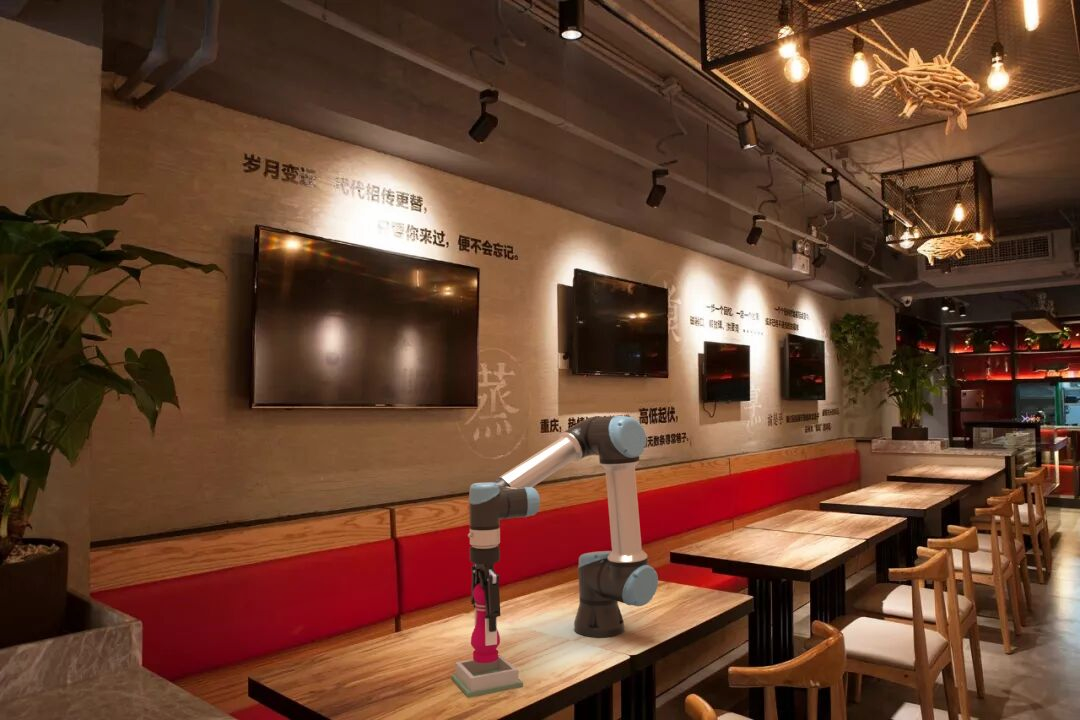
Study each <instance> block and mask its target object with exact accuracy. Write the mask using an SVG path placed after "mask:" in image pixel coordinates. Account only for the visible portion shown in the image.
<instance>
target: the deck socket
mask: <svg viewBox="0 0 1080 720" xmlns="http://www.w3.org/2000/svg"><path fill="white" fill-rule="evenodd" d="M450 675H451V677H450V678H451V680H452V681H453V682H454V683H455V685H456V686H457V688H459V689H460V690H461V691H462V693H463V694H464V695H465V696H466V697H467V698H473V697H478V696H483V695H487V694H493V693H497V692H502V691H503V692H504V691H509V690H514V689H517V688H518V689H519V688H523V687H524V682H523V681H522V680H521V679H519V669H518V668H517V667H516V666H515V665H514V664H512V663H511V662H509V661H508V659H506V658H505V657H504V656H503V655H502V654H498V659H497V660H496V661H494V662H491V663H478V662H475V661H474V660H473V658H471V659H467V660H461V661H456V662H455V673H454V674H453V673H452V674H450Z"/></svg>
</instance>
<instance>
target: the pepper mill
mask: <svg viewBox="0 0 1080 720" xmlns="http://www.w3.org/2000/svg"><path fill="white" fill-rule="evenodd" d="M473 598H474V599H475V601H476V603H475V605H476V606H475V609H476V610H477V622H476V626H475V625H474V628H473V631H472V633H471V637H470V644H471V646H472V648H473V652H472V659H473V660H474V661H475V662H478V663H491V662H494V661H496V660H497V659H498V655H499V650H498V647H499V646H500V643H501V636H500V632H499V630H498V629H497V644H495V645H489V646H486V645H485V619H484V616H487V614H486V606H485V595H484V590H483V589H482V588H481V583H479V584H477V585H476V586H475V588H474V590H473ZM475 609H474V610H475Z"/></svg>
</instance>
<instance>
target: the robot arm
mask: <svg viewBox="0 0 1080 720" xmlns="http://www.w3.org/2000/svg"><path fill="white" fill-rule="evenodd" d="M646 447H647V434H646V432H645V429H644V427H643V425H642V424H641V423H640V422H639V421H638V419H636V418H634V417H633V416H632V417H631V416H625V415H610V416H609V415H608V416H607V415H606V416H603V415H602V416H598V415H597V416H592V417H588V418H586V419H584V420H582V421H580V422H577V423H576V424H575V425H573V426H571V427H570V428H568V429H566V430H565V431H564V432H561V433H560V434H559V437H558V439H557V440H555V441H554V442H552V443H550V444H549V445H548V446H546V447H544V448H543V449H541V450H539V451H538V452H536V453H534V454H533V455H531V456H529V458H527V459H525V460H524V461H522V462H521V463H519V464H517V465H516V466H514V467H512V468H511V469H510V470H507V472H505V473H502V474H501V475H500V476H499V477H497V478H496V479H493V480H492V481H490V482H487V481H486V482H475V483H472V484H471V485H470V487H469V495H468V496H469V497H468V498H469V499H468V506H469V507H468V509H469V510H468V511H469V519H468V520H469V533H468V534H467V537H468V538H469V545H471V546H470V547H469V561H470V563H472V564H473V565H471V597H470V603H471V605H473V609H474V627H475V626H476V622H477V610H476V609H475V606H476V605H475V603H476V601H475V599H474V598H473V590H474V588H475V586H476V585H477V584H479V583H481V588H482V589H483V590H484V595H485V606H486V614H487V616H484V619H485V645H486V646H489V645H495V644H497V630H498V626H497V625H498V617H501V600H500V599H501V598H500V574H499V573H496V570H495V567H494V564H495V563H498V562H500V560H501V548H500V546H499V544H500V543H501V527H500V521H501V520H506V519H516V518H527V517H530V516H531V517H532V516H535V515H536V514H537V513H538V512H539V510H540V508H541V497H540V494H539V492H538V490H536V489H537V488H534V487H535V486H536V485H538V484H540V483H541V482H543V481H544V480H545V479H547V478H549V477H550V476H551V475H553V474H555V473H556V472H558V471H559V470H561V469H562V468H563V467H565V466H566V465H568V464H570V463H571V462H579V461H580V460H582V459H583V458H586V457H589V456H599V457H598V460H599V465H600V466H601V467H603V468H604V470H605V481H606V491H607V492H606V494H607V505H608V506H607V507H608V516H609V517H608V518H609V527H610V528H609V530H610V542H611V550H603V551H602V550H601V551H592V552H587V553H586V552H585V553H582V554H581V555H580V556H579V557H578V567H577V571H578V591H579V592H578V595H579V603H578V608H577V611H576V615H575V618H574V623H573V625H574V626H573V627H574V628H573V631H574V632H576V634H579V635H580V636H584V637H585V636H586V637H591V638H606V637H607V638H608V637H613V636H619V635H620V634H623V632H624V631H625V621H624V618H623V616H622V613H621V609H620V607H619V604H618V603H621V604H622V603H623V604H625V605H628V606H634V607H642V606H646V605H647V604H648V603H649V602H651V600H652V599H653V598H654V596H655V594H656V593H657V589H658V586H659V577H658V573H657V571H656V570H655V569H654V567H652V566H651V565H649V558H648V557H649V556H648V554H647V553H646V552H645V551H644V550H643V548H642V547H643V546H642V537H641V526H640V525H641V524H640V513H639V501H638V488H637V478H636V466H637V465H638V464H639V462H640V455H642V454H643V453H644V451H645V448H646Z"/></svg>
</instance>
